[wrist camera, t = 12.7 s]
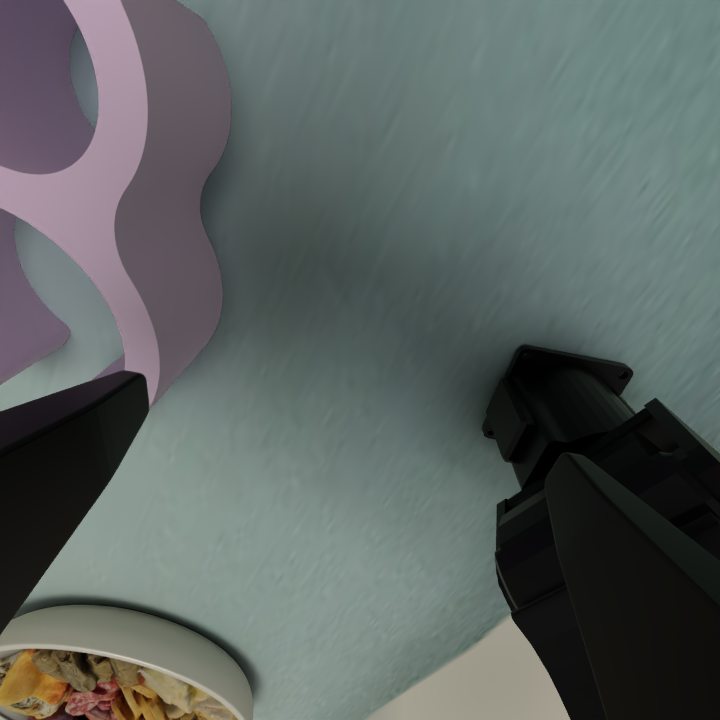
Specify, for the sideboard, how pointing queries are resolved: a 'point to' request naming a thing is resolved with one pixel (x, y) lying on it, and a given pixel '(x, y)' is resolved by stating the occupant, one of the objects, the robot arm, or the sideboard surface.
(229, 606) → the sideboard surface
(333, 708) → the sideboard surface
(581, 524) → the robot arm
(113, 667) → the bowl
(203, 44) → the clip
